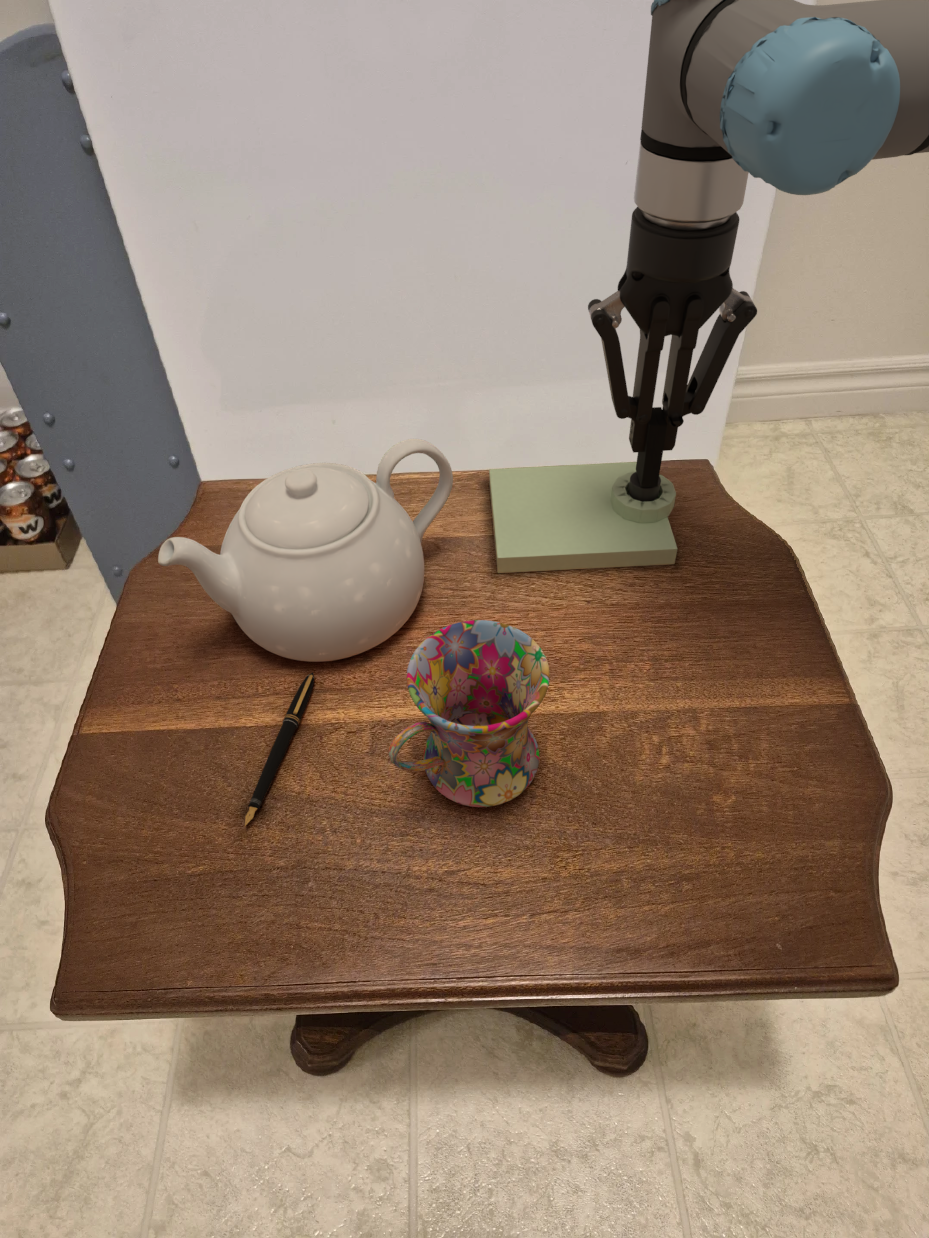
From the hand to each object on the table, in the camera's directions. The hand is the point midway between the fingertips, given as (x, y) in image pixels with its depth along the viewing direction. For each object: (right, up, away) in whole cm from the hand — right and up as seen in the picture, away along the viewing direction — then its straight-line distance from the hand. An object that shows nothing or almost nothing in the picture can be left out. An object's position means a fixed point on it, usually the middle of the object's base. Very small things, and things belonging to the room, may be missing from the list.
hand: (646, 477), depth 77 cm
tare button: (0, -1, +1) cm, 2 cm away
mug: (-16, -24, -15) cm, 33 cm away
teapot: (-28, -11, -2) cm, 30 cm away
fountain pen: (-30, -23, -13) cm, 40 cm away
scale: (-6, -4, +4) cm, 8 cm away
